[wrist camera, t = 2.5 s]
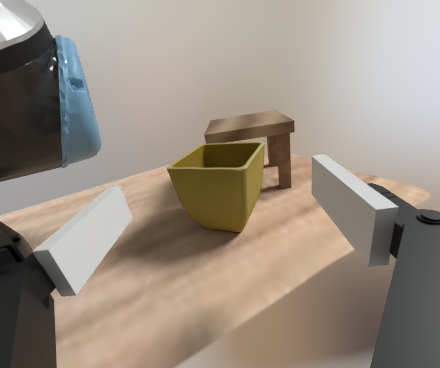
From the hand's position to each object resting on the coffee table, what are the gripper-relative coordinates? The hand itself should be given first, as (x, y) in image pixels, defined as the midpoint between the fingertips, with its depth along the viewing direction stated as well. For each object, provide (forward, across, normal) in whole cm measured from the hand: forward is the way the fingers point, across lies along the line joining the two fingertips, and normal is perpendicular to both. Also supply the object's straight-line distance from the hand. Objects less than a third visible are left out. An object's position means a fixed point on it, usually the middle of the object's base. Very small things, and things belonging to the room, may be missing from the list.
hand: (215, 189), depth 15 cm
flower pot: (+10, 0, -10) cm, 14 cm away
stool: (+22, +4, -9) cm, 24 cm away
